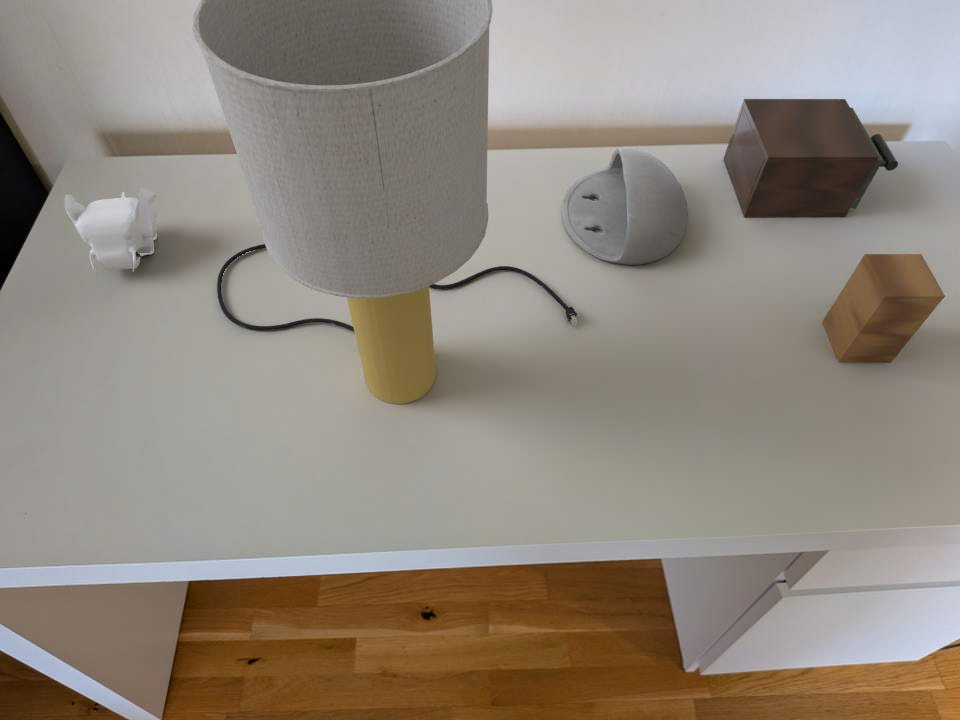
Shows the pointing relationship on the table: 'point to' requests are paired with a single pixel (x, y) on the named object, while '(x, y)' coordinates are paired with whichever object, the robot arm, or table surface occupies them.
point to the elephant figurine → (116, 228)
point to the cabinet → (798, 157)
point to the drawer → (884, 160)
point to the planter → (627, 209)
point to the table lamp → (361, 157)
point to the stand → (881, 307)
